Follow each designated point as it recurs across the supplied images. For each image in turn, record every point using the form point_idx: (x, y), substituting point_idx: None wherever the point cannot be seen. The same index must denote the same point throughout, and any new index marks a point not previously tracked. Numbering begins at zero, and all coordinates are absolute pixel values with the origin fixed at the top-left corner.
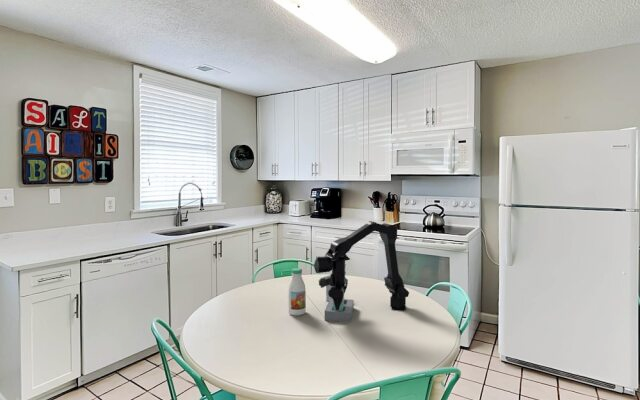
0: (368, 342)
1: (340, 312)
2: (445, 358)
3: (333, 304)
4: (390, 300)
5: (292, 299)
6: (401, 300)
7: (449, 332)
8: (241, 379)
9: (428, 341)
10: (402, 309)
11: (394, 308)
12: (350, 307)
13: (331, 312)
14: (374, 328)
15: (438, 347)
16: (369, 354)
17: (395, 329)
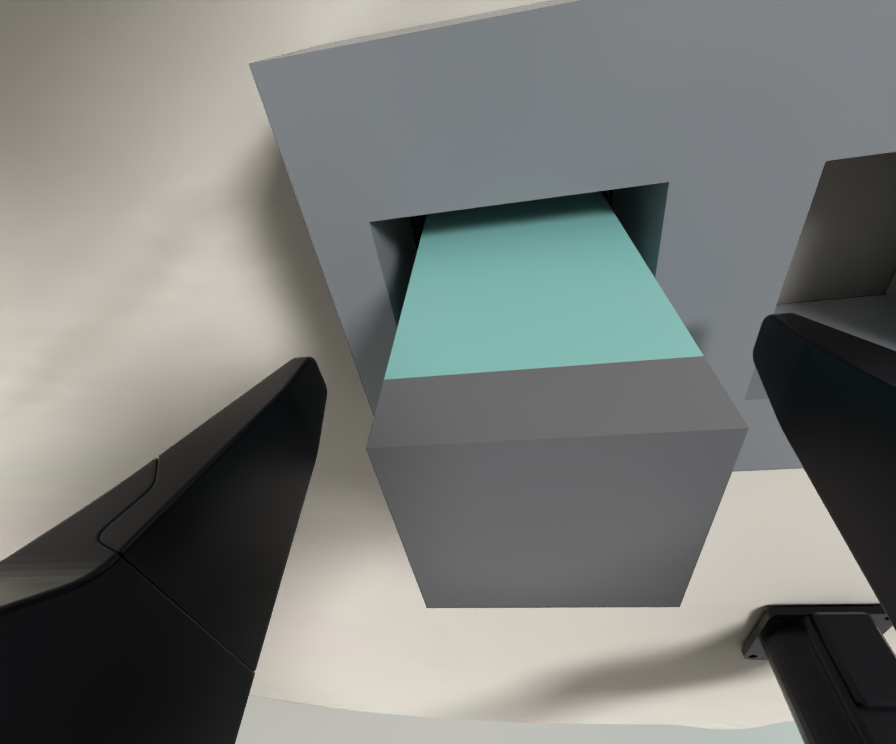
0: None
1: (364, 381)
2: None
3: (405, 316)
4: (850, 675)
5: None
6: (796, 723)
7: (462, 713)
8: None
9: (336, 677)
10: (748, 647)
11: (772, 624)
12: None
13: (317, 233)
14: (366, 546)
15: (301, 689)
16: (7, 546)
17: (407, 614)
